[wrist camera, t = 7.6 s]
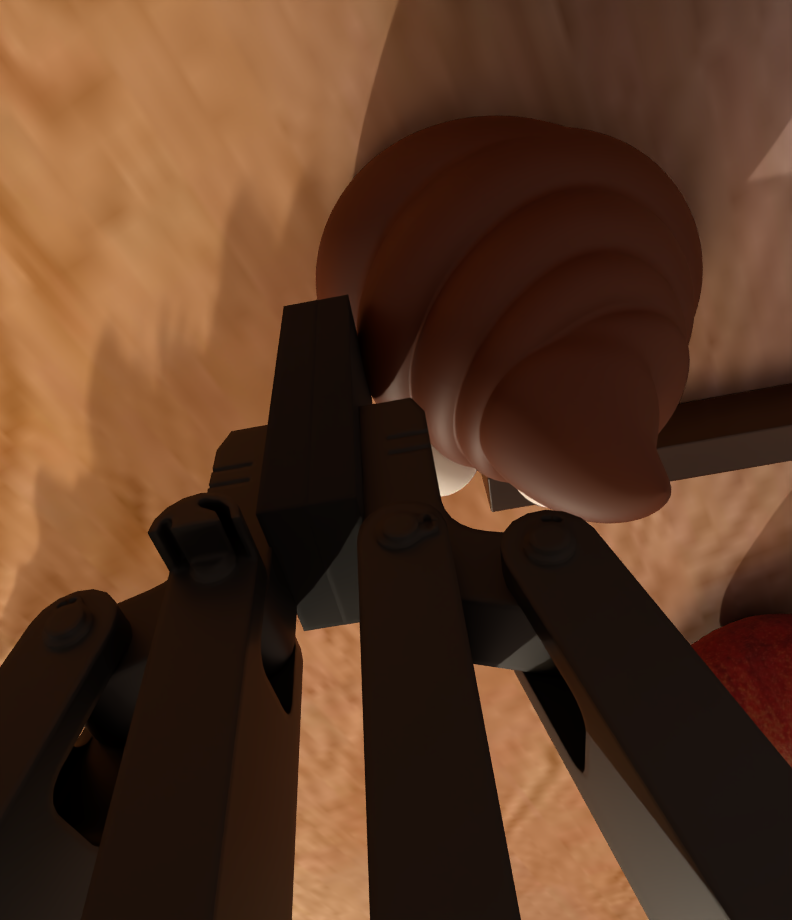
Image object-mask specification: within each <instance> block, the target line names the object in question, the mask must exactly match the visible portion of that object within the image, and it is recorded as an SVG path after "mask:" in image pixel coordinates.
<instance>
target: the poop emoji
mask: <svg viewBox="0 0 792 920" xmlns="http://www.w3.org/2000/svg"><path fill="white" fill-rule="evenodd" d="M702 274H703V263H702V251H701V245H700V239H699V235H698V231H697V228H696V224H695V222H694V219H693V216H692V214H691V212H690V209H689V207H688V205H687V203H686V201H685V200H684V198H683V196H682V194H681V193H680V191H679V190H678V188H677V187H676V185H675V184H674V183H673V181H672V180H671V179H670V178H669V177H668V175H667V174H666V173H665V172H664V171H663V170H662V169H661V168H660V167H659V166H658V165H657V164H656V163H655V162H653V161H652V160H651V159H650V158H649V157H647V156H646V155H645V154H643V153H642V152H640V151H639V150H637V149H636V148H634V147H632V146H630V145H628V144H627V143H625V142H623V141H620V140H618V139H616V138H613V137H611V136H608V135H605V134H602V133H598V132H595V131H590V130H585V129H579V128H571V127H564V126H561V125H558V124H554V123H551V122H546V121H542V120H537V119H532V118H525V117H515V116H478V117H469V118H463V119H457V120H452V121H448V122H444V123H441V124H437V125H434V126H431V127H428V128H425V129H423V130H420V131H418V132H416V133H413V134H411V135H409V136H407V137H405V138H403V139H401V140H400V141H398V142H396V143H395V144H393V145H391V146H390V147H388V148H387V149H385V150H384V151H383V152H381V153H380V154H379V155H377V156H376V157H375V158H374V159H373V160H371V161H370V162H369V163H368V164H367V165H366V166H365V167H364V168H363V169H362V170H361V171H360V172H359V173H358V174H357V175H356V176H355V177H354V179H353V180H352V181H351V182H350V183H349V185H348V186H347V187H346V189H345V190H344V192H343V193H342V195H341V196H340V198H339V199H338V201H337V203H336V204H335V206H334V208H333V210H332V212H331V214H330V216H329V219H328V221H327V224H326V226H325V229H324V232H323V235H322V238H321V242H320V246H319V251H318V257H317V266H316V291H317V300H321V299H326V298H331V297H336V296H342V295H347V294H348V296H349V300H350V305H351V309H352V313H353V318H354V322H355V327H356V331H357V335H358V341H359V347H360V352H361V357H362V362H363V367H364V371H365V375H366V379H367V383H368V387H369V390H370V393H371V396H372V397H373V399H374V401H375V402H376V404H377V403H382V402H388V401H393V400H399V399H405V398H410V397H411V398H412V399H413V400H414V401H415V402H416V403H417V404H418V405H419V406H420V407H421V408H422V409H423V410H424V411H425V415H426V421H427V426H428V432H429V437H430V442H431V448H432V453H433V458H434V464H435V469H436V474H437V480H438V485H439V490H440V496H446V495H450V494H453V493H455V492H457V491H459V490H460V489H462V488H463V487H464V486H465V485H467V484H468V483H469V481H470V480H471V479H472V478H473V476H474V475H475V473H476V471H479V472H480V473H481V474H483V475H485V476H486V477H488V478H491V479H493V480H497V481H501V482H507V483H510V484H511V485H513V486H514V487H515V488H516V489H517V490H518V491H519V492H520V493H521V494H522V495H523V497H524V498H525V499H527V500H528V501H529V502H531V503H533V504H535V505H537V506H541V507H547V508H550V509H552V510H554V511H564V512H567V513H570V514H572V515H575V516H578V517H581V518H582V519H583V520H584V521H588V522H595V523H623V522H629V521H634V520H638V519H641V518H644V517H647V516H649V515H651V514H653V513H655V512H656V511H658V510H659V509H661V508H662V507H663V506H664V505H665V504H666V503H667V502H668V500H669V498H670V496H671V485H670V481H669V478H668V475H667V473H666V470H665V468H664V466H663V464H662V461H661V459H660V457H659V454H658V452H657V449H656V446H657V439H658V434H659V433H660V431H661V430H662V429H663V428H664V426H665V425H666V423H667V422H668V420H669V419H670V418H671V416H672V414H673V413H674V411H675V409H676V407H677V405H678V403H679V401H680V399H681V397H682V394H683V391H684V388H685V385H686V382H687V378H688V372H689V361H690V359H689V349H688V345H689V341H690V337H691V333H692V328H693V321H694V316H695V313H696V310H697V307H698V303H699V299H700V293H701V287H702Z"/></svg>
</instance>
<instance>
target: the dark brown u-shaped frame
mask: <svg viewBox="0 0 792 920" xmlns="http://www.w3.org/2000/svg"><path fill="white" fill-rule="evenodd" d="M656 449H657V452H658V454H659V457H660V459H661V461H662V464H663V466H664V468H665V470H666V473H667V475H668V478H669V481H676V480H682V479H687V478H693V477H699V476H705V475H711V474H716V473H722V472H728V471H734V470H740V469H745V468H751V467H757V466H763V465H769V464H775V463H780V462H786V461H792V384H788V385H783V386H777V387H772V388H766V389H760V390H755V391H749V392H743V393H738V394H732V395H727V396H721V397H715V398H710V399H704V400H699V401H693V402H687V403H682V404H678V405H677V407H676V409H675V411H674V413H673V414H672V416H671V418H670V419H669V420H668V422H667V423H666V425H665V426H664V428H663V429H662V430H661V431H660V433H659V434H658V439H657V446H656ZM482 478H483V482H484V486H485V490H486V493H487V497H488V501H489V505H490V509H491V511H492V512H495V511H501V510H507V509H513V508H519V507H525V506H530V505H535V504H533V503H531V502H529V501H528V500H527V499H525V498H524V497H523V495H522V494H521V493H520V492H519V491H518V490H517V489H516V488H515V487H514V486H513V485H511V484H510V483H507V482H501V481H497V480H493V479H491V478H488V477H486V476H485V475H483V474H482Z"/></svg>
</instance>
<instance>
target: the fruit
mask: <svg viewBox="0 0 792 920" xmlns="http://www.w3.org/2000/svg"><path fill="white" fill-rule="evenodd" d="M691 646H692V648H693V649H694V650H695V651H696V652H697V654H698V655H699V656H700V657H701V658H702V660H703V661H704V662H705V663H706V665H707V666H708V667H709V668H710V669H711V671H712V672H713V673H714V674H715V675H716V677H717V678H718V679H719V680H720V682H721V683H722V684H723V685H724V686H725V688H726V689H727V690H728V691H729V692H730V694H731V695H732V696H733V697H734V698H735V700H736V701H737V702H738V703H739V705H740V706H741V707H742V708H743V709H744V711H745V712H746V713H747V714H748V715H749V717H750V718H751V719H752V720H753V721H754V723H755V724H756V725H757V726H758V728H759V729H760V730H761V731H762V732H763V734H764V735H765V736H766V737H767V738H768V740H769V741H770V742H771V743H772V744H773V746H774V747H775V748H776V749H777V751H778V752H779V753H780V754H781V755H782V757H783V758H784V759H785V760H786V761H787V763H788V764H789V765H790V766H791V767H792V614H766V615H756V616H751V617H746V618H744V619H741V620H738V621H735V622H732V623H729V624H727V625H726V626H723V627H721V628H719V629H716V630H714V631H712V632H711V633H709V634H708V635H706V636H704V637H702V638H701V639H700V640H699V641H697V642H695V643H693V644H692V645H691Z"/></svg>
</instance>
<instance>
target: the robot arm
mask: <svg viewBox="0 0 792 920" xmlns="http://www.w3.org/2000/svg"><path fill="white" fill-rule="evenodd" d="M209 486H210V488H209V489H208V492H207V493H200V494H196V495H193V496H190V497H186V498H183V499H182V500H180V501H178V502H176V503H175V504H173V505H171V506H169V507H168V508H166V509H165V510H164V511H163V512H162V513H161V514H160V515H159V516H158V517H157V518H156V519H155V520H154V522H153V524H152V525H151V527H150V529H149V531H148V535H149V536H150V538H151V540H152V542H153V543H154V545H155V547H156V549H157V550H158V552H159V554H160V556H161V557H162V559H163V561H164V563H165V564H166V566H167V568H168V569H169V571H170V573H169V577H168V580H167V581H166V582H164V583H162V584H160V585H159V586H157V587H155V588H153V589H151V590H149V591H146V592H144V593H141V594H139V595H137V596H134V597H132V598H130V599H127V600H125V601H123V602H120V603H118V604H117V603H116V602H115V601H114V600H113V598H112V597H111V596H110V595H109V594H108V593H107V592H103V591H99V590H94V589H91V590H84V591H77V592H74V593H72V594H69V595H67V596H65V597H62V598H60V599H58V600H57V601H55V602H54V603H52V604H51V605H50V606H48V607H47V608H45V609H44V610H42V611H41V613H40V614H39V615H38V616H37V617H36V618H35V619H34V620H33V621H32V623H31V624H30V625H29V626H28V628H27V629H26V631H25V632H24V633H23V635H22V636H21V638H20V639H19V641H18V642H17V644H16V645H15V646H14V648H13V649H12V651H11V652H10V654H9V655H8V657H7V658H6V659H5V661H4V662H3V664H2V665H1V667H0V920H292V902H293V879H294V856H295V833H296V810H297V787H298V765H299V742H300V719H301V696H302V673H303V658H302V653H301V648H300V646H299V644H298V641H297V639H296V637H295V632H296V615H298V617H299V620H300V622H301V624H302V627H303V629H304V631H308V630H314V629H320V628H326V627H332V626H338V625H346V624H352V623H358V622H360V644H361V673H362V702H363V730H364V759H365V788H366V816H367V845H368V874H369V903H370V920H521V918H520V912H519V907H518V901H517V896H516V891H515V885H514V880H513V875H512V869H511V864H510V859H509V853H508V848H507V843H506V837H505V832H504V827H503V821H502V816H501V810H500V805H499V800H498V794H497V789H496V784H495V778H494V773H493V768H492V762H491V757H490V752H489V746H488V741H487V735H486V730H485V725H484V719H483V714H482V709H481V703H480V698H479V693H478V687H477V682H476V677H475V671H474V666H473V664H478V665H484V666H491V667H498V668H505V669H511V670H514V671H515V674H516V676H517V678H518V679H519V681H520V683H521V685H522V687H523V689H524V690H525V692H526V694H527V696H528V698H529V700H530V701H531V703H532V705H533V707H534V709H535V711H536V712H537V714H538V716H539V718H540V720H541V722H542V723H543V725H544V727H545V729H546V731H547V733H548V735H549V736H550V738H551V740H552V742H553V744H554V746H555V747H556V749H557V751H558V753H559V755H560V757H561V758H562V760H563V762H564V764H565V766H566V768H567V769H568V771H569V773H570V775H571V777H572V779H573V781H574V782H575V784H576V786H577V788H578V790H579V792H580V793H581V795H582V797H583V799H584V801H585V803H586V804H587V806H588V808H589V810H590V812H591V814H592V815H593V817H594V819H595V821H596V823H597V825H598V826H599V828H600V830H601V832H602V834H603V836H604V838H605V839H606V841H607V843H608V845H609V847H610V849H611V850H612V852H613V854H614V856H615V858H616V860H617V861H618V863H619V865H620V867H621V869H622V871H623V872H624V874H625V876H626V878H627V880H628V882H629V884H630V885H631V887H632V889H633V891H634V893H635V895H636V896H637V898H638V900H639V902H640V904H641V906H642V907H643V909H644V911H645V913H646V915H647V917H648V918H649V920H792V767H791V766H790V765H789V764H788V763H787V761H786V760H785V759H784V758H783V757H782V755H781V754H780V753H779V752H778V751H777V749H776V748H775V747H774V746H773V744H772V743H771V742H770V741H769V740H768V738H767V737H766V736H765V735H764V734H763V732H762V731H761V730H760V729H759V728H758V726H757V725H756V724H755V723H754V721H753V720H752V719H751V718H750V717H749V715H748V714H747V713H746V712H745V711H744V709H743V708H742V707H741V706H740V705H739V703H738V702H737V701H736V700H735V698H734V697H733V696H732V695H731V694H730V692H729V691H728V690H727V689H726V688H725V686H724V685H723V684H722V683H721V682H720V680H719V679H718V678H717V677H716V675H715V674H714V673H713V672H712V671H711V669H710V668H709V667H708V666H707V665H706V663H705V662H704V661H703V660H702V658H701V657H700V656H699V655H698V654H697V652H696V651H695V650H694V649H693V648H692V646H691V645H690V644H689V643H688V642H687V640H686V639H685V638H684V637H683V635H682V634H681V633H680V632H679V631H678V629H677V628H676V627H675V626H674V625H673V623H672V622H671V621H670V620H669V619H668V617H667V616H666V615H665V614H664V612H663V611H662V610H661V609H660V608H659V606H658V605H657V604H656V603H655V602H654V600H653V599H652V598H651V597H650V596H649V594H648V593H647V592H646V591H645V589H644V588H643V587H642V586H641V585H640V583H639V582H638V581H637V580H636V579H635V577H634V576H633V575H632V574H631V573H630V571H629V570H628V569H627V568H626V566H625V565H624V564H623V563H622V562H621V560H620V559H619V558H618V557H617V556H616V554H615V553H614V552H613V551H612V550H611V548H610V547H609V546H608V545H607V543H606V542H605V541H604V540H603V539H602V537H601V536H600V535H599V534H598V533H597V531H596V530H595V529H594V528H593V527H592V526H591V525H589V524H588V523H587V522H586V521H584V520H583V519H582V518H581V517H578V516H575V515H572V514H570V513H567V512H564V511H553V510H542V511H537V512H533V513H528V514H526V515H524V516H522V517H520V518H518V519H516V520H515V521H513V522H512V523H511V524H510V525H509V527H508V528H507V529H506V530H505V531H504V533H503V532H491V531H483V530H477V529H472V528H470V527H467V526H465V525H462V524H460V523H459V522H457V521H456V520H454V519H453V518H451V517H450V515H449V514H448V513H447V512H446V510H445V509H444V506H443V504H442V501H441V496H440V490H439V485H438V480H437V474H436V469H435V464H434V458H433V453H432V448H431V442H430V437H429V432H428V426H427V421H426V415H425V411H424V410H423V409H422V408H421V407H420V406H419V405H418V404H417V403H416V402H415V401H414V400H413V399H412V398H411V397H410V398H405V399H399V400H393V401H388V402H382V403H377V404H372V397H371V393H370V390H369V387H368V383H367V379H366V375H365V371H364V367H363V362H362V357H361V352H360V347H359V341H358V335H357V331H356V327H355V322H354V318H353V313H352V309H351V305H350V300H349V296H348V294H347V295H342V296H336V297H331V298H326V299H321V300H315V301H309V302H304V303H299V304H293V305H288V306H284V308H283V316H282V323H281V330H280V338H279V345H278V353H277V360H276V367H275V375H274V382H273V389H272V397H271V404H270V411H269V419H268V425H264V426H258V427H253V428H247V429H242V430H236V431H231V432H230V434H229V435H228V436H227V438H226V439H225V440H224V442H223V443H222V444H221V445H220V447H219V448H218V449H217V452H216V456H215V461H214V465H213V473H212V474H211V478H210V483H209ZM84 727H85V728H84ZM83 728H84V730H83V732H82V734H81V735H80V733H81V731H82V729H83ZM79 735H80V736H79Z"/></svg>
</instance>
